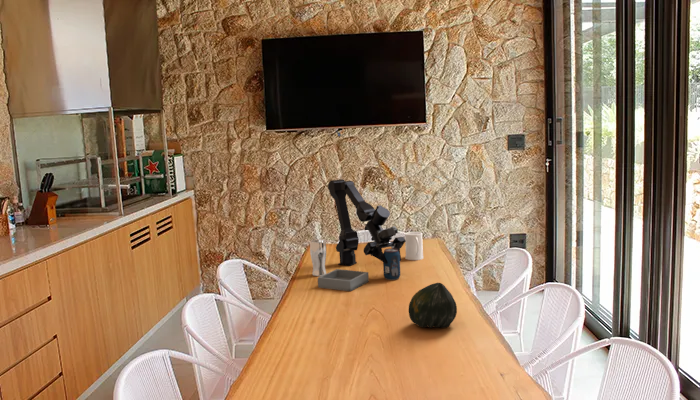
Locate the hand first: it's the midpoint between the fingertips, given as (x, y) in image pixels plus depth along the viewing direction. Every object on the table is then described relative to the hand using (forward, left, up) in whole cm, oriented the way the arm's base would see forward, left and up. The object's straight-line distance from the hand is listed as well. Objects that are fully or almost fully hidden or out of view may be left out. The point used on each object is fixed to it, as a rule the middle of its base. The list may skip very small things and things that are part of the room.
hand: (393, 262), depth 255 cm
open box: (-15, -15, -7) cm, 23 cm away
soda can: (-1, +1, -7) cm, 7 cm away
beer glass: (-33, -5, -7) cm, 34 cm away
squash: (+36, -47, -7) cm, 59 cm away
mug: (-6, +36, -7) cm, 37 cm away
